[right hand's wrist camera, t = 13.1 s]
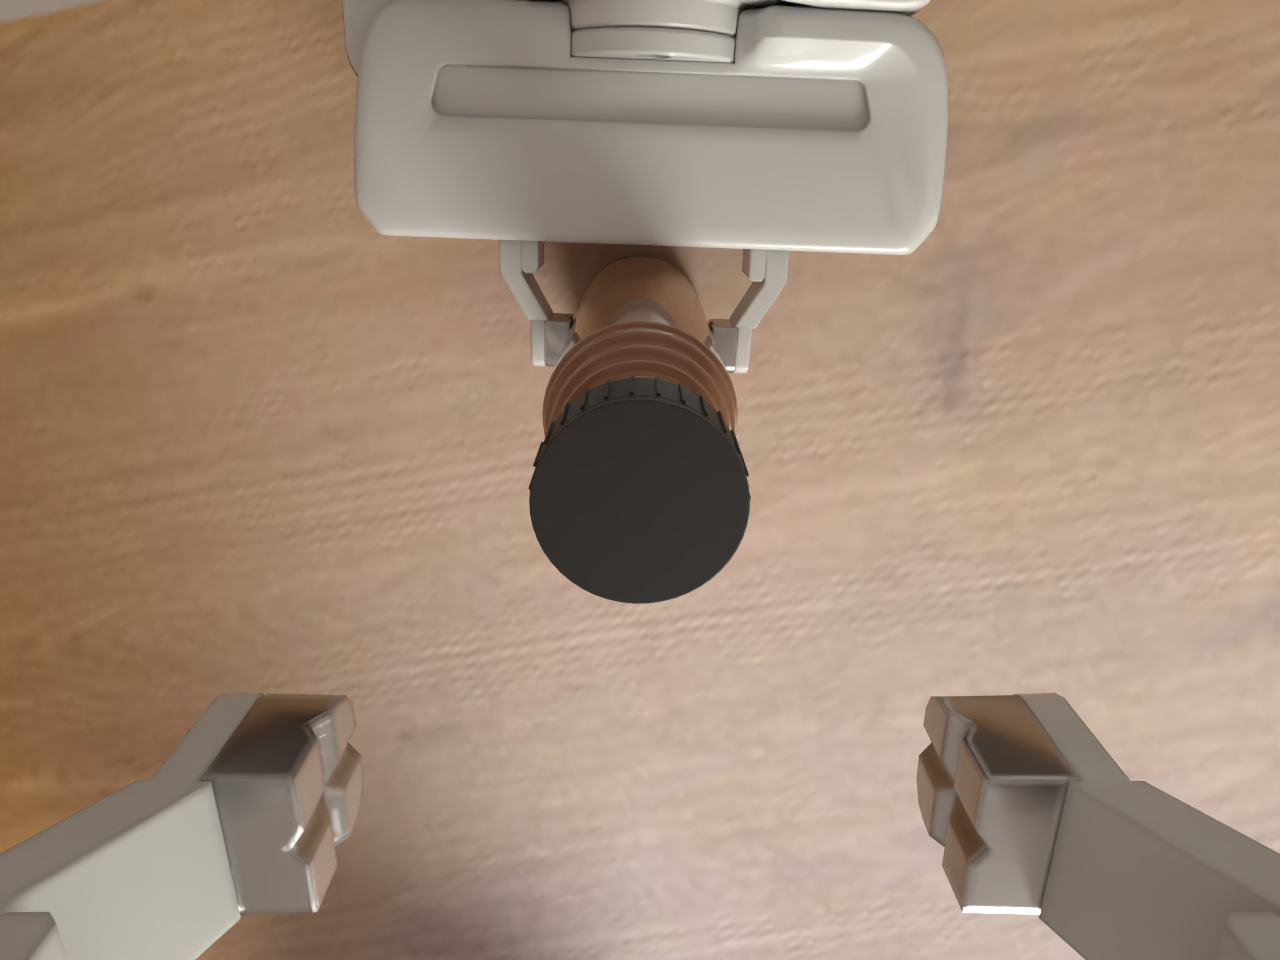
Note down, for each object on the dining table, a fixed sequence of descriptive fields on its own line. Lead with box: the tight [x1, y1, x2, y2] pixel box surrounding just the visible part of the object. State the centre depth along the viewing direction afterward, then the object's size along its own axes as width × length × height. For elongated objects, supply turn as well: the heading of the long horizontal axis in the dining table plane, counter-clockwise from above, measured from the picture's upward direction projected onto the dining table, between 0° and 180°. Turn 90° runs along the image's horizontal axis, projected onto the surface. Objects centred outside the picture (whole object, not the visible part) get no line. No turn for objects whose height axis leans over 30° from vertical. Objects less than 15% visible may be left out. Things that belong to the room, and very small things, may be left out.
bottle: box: [543, 256, 738, 437], centre depth 28 cm, size 5×5×21 cm
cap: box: [529, 375, 751, 604], centre depth 18 cm, size 5×5×2 cm
